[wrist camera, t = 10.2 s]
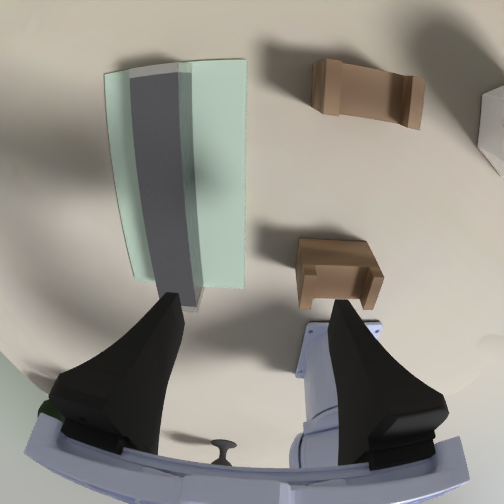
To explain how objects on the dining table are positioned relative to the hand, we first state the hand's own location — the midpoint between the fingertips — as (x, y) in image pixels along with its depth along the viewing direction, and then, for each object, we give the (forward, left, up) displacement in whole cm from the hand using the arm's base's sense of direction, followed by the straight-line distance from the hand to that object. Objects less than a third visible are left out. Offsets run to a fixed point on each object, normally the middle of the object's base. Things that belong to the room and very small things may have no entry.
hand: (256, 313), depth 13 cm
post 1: (+10, -6, -10) cm, 15 cm away
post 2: (-3, -6, -10) cm, 12 cm away
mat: (+2, +6, -10) cm, 12 cm away
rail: (+2, +6, -10) cm, 12 cm away
